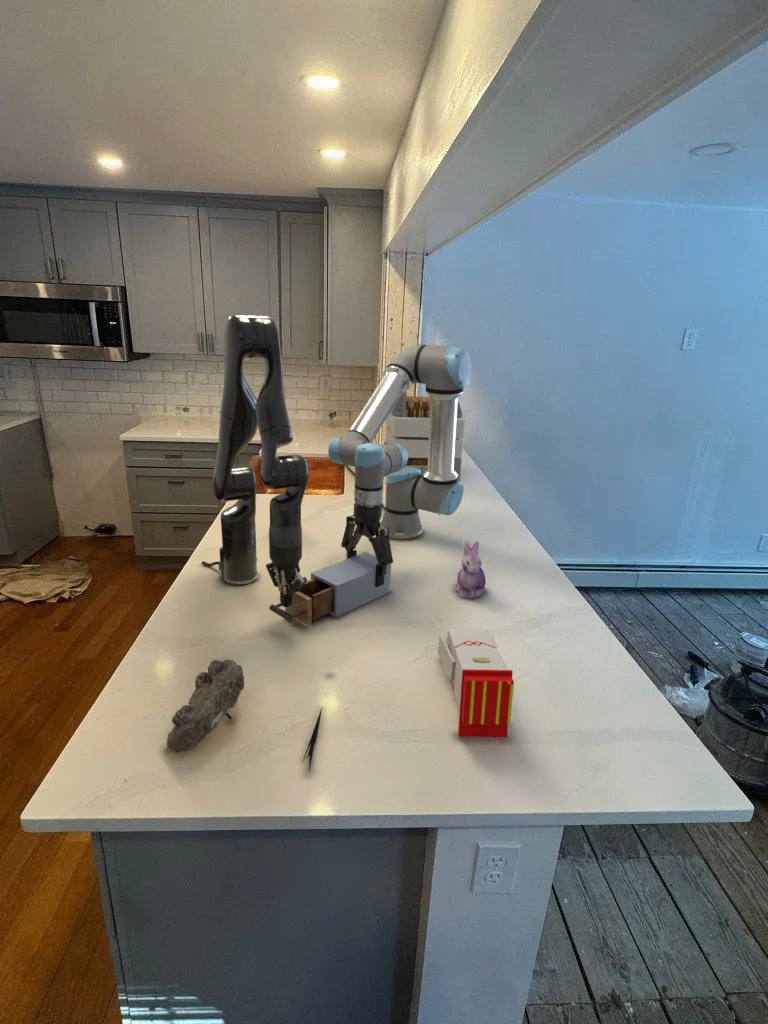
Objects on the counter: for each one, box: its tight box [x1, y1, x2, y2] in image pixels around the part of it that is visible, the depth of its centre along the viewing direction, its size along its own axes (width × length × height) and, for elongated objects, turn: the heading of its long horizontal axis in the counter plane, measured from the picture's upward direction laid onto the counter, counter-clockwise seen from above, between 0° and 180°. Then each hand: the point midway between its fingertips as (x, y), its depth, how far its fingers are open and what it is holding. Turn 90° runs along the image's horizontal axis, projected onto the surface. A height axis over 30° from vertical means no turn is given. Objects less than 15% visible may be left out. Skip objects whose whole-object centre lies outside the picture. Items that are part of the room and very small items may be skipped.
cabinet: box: [310, 551, 392, 618], centre depth 153 cm, size 20×10×9 cm, turn 138°
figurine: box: [455, 540, 487, 599], centre depth 158 cm, size 9×10×15 cm
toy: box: [437, 628, 515, 738], centre depth 117 cm, size 12×13×30 cm
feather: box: [301, 673, 332, 771], centre depth 108 cm, size 2×28×2 cm
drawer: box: [268, 578, 335, 627], centre depth 145 cm, size 25×9×7 cm, turn 138°
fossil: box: [166, 658, 245, 754], centre depth 106 cm, size 22×10×15 cm
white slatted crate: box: [383, 391, 465, 482], centre depth 268 cm, size 34×33×41 cm
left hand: (286, 605), depth 137 cm, fingers closed
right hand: (365, 578), depth 157 cm, fingers closed on cabinet, 10 cm apart
